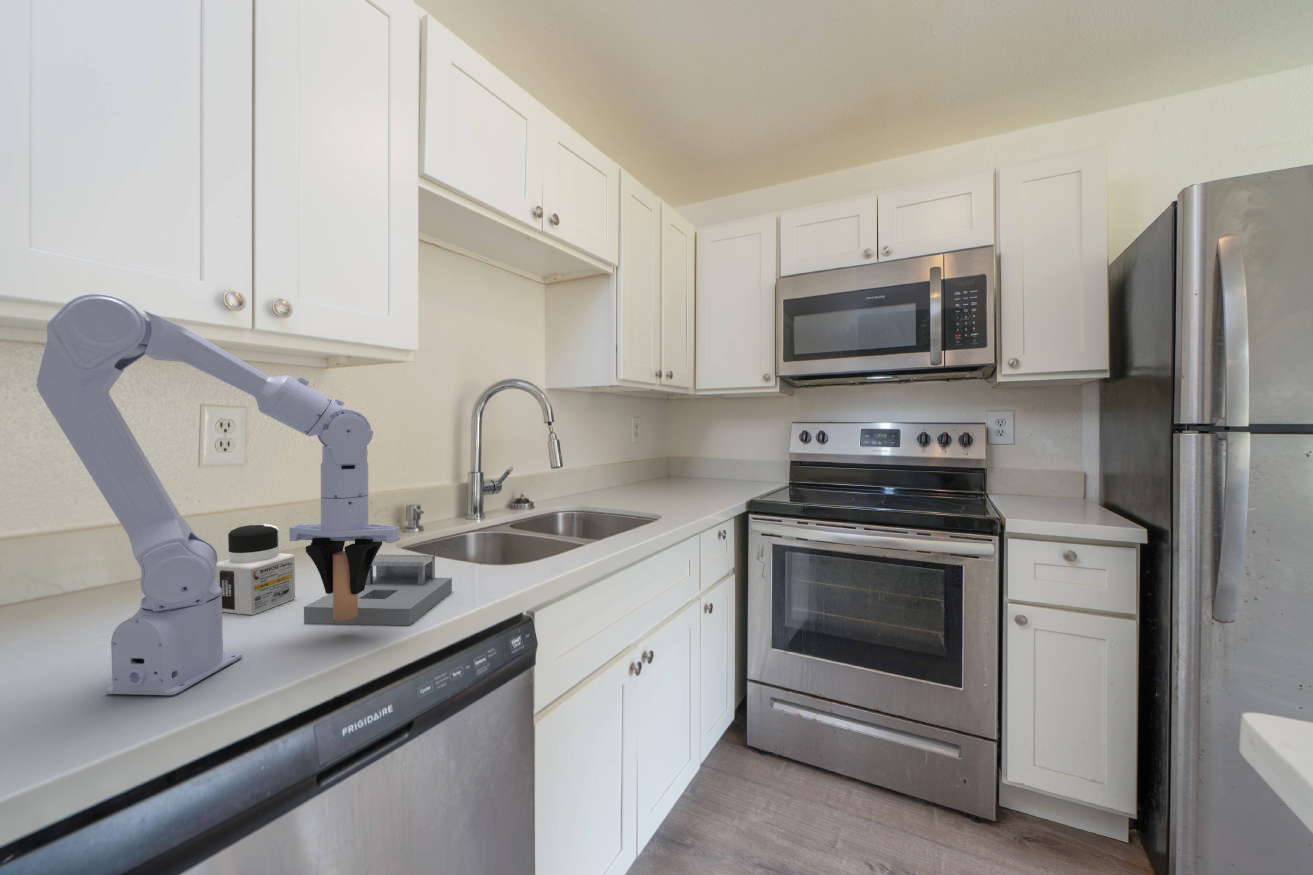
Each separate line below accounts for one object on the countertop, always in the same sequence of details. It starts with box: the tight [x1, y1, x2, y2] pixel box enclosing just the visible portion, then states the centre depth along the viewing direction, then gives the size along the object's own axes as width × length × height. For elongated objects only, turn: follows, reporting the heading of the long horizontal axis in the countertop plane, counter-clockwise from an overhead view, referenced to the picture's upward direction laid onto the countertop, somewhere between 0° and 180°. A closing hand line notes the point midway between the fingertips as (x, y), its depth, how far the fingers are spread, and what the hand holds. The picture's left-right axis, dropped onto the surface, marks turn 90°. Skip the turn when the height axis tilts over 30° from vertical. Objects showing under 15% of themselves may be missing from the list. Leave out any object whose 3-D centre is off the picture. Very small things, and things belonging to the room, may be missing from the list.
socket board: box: [303, 575, 453, 626], centre depth 85 cm, size 15×16×2 cm
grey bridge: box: [366, 553, 436, 586], centre depth 90 cm, size 4×10×4 cm, turn 89°
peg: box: [333, 550, 358, 621], centre depth 73 cm, size 3×3×9 cm
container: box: [214, 523, 296, 616], centre depth 85 cm, size 8×8×13 cm
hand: (345, 591), depth 73 cm, fingers closed on peg, 3 cm apart
